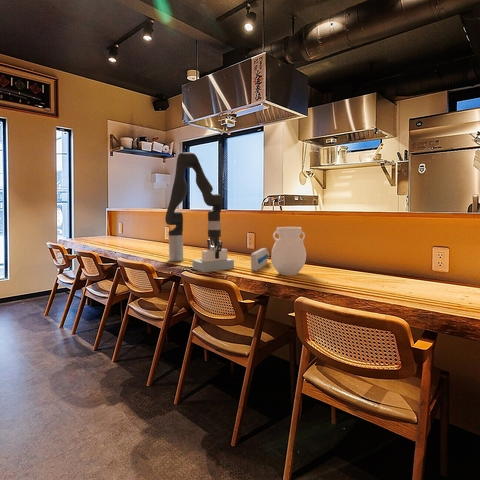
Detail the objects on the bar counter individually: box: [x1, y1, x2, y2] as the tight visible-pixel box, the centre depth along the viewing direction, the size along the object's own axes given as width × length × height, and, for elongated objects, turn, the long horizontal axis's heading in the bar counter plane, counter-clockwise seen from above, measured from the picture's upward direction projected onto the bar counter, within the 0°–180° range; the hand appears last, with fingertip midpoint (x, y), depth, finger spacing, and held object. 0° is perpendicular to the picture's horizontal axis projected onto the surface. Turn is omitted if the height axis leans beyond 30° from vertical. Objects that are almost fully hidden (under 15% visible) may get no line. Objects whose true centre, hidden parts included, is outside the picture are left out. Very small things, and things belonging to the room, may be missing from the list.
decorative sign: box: [250, 247, 270, 272], centre depth 207 cm, size 32×4×10 cm, turn 161°
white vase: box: [270, 226, 307, 276], centre depth 184 cm, size 19×18×25 cm
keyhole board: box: [192, 257, 235, 273], centre depth 202 cm, size 14×20×5 cm
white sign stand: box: [201, 248, 228, 262], centre depth 200 cm, size 5×14×10 cm, turn 124°
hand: (214, 257), depth 200 cm, fingers closed on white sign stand, 5 cm apart
